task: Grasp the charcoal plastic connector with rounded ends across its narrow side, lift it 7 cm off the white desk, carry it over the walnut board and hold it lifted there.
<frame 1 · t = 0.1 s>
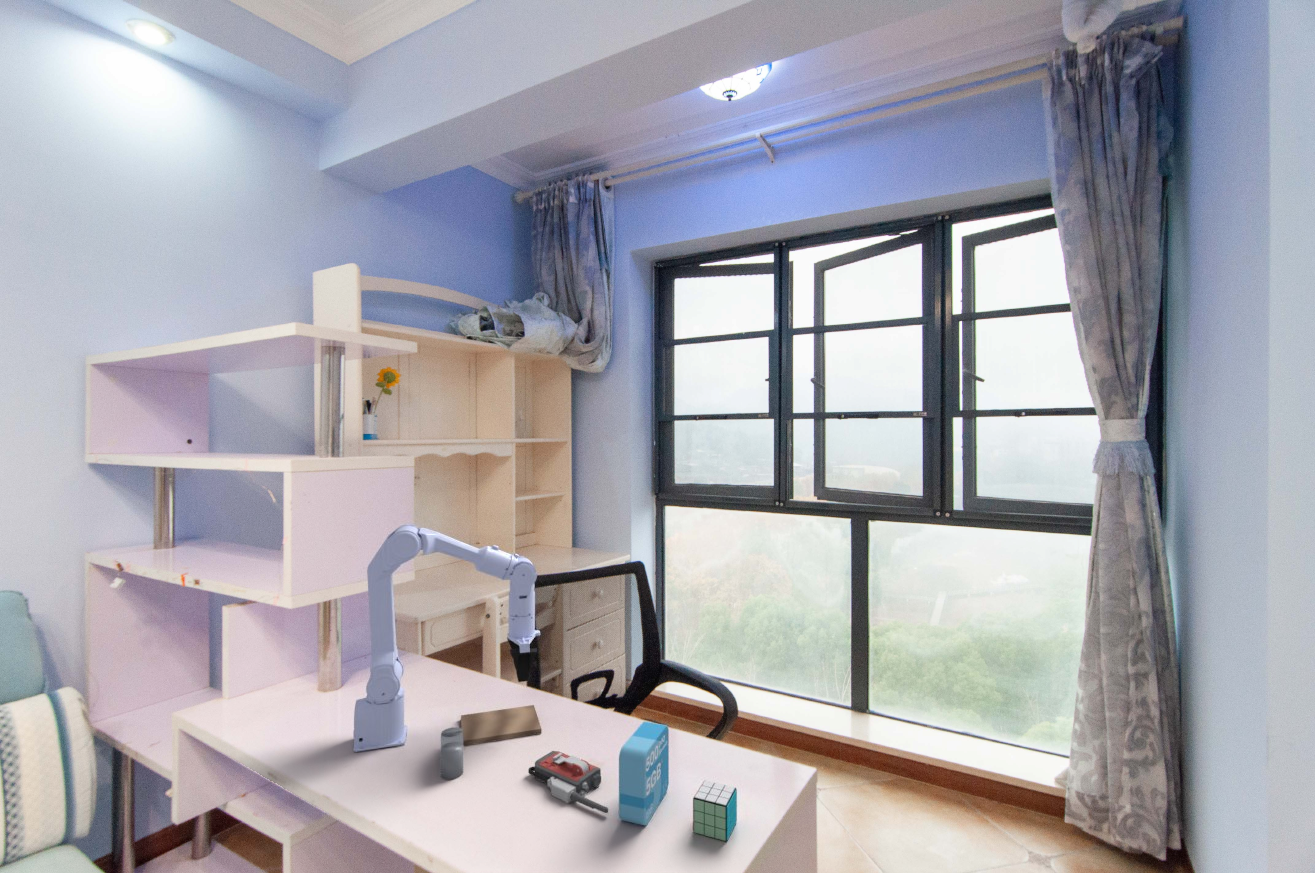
hand: (521, 674, 134), 10 cm above the table, tool pointing down, fingers open, 7 cm apart
walnut board: (500, 726, 131), on the table
walkie-talkie: (576, 790, 108), on the table
connector: (451, 765, 115), on the table
data package: (644, 806, 103), on the table
puzzle toy: (715, 828, 97), on the table
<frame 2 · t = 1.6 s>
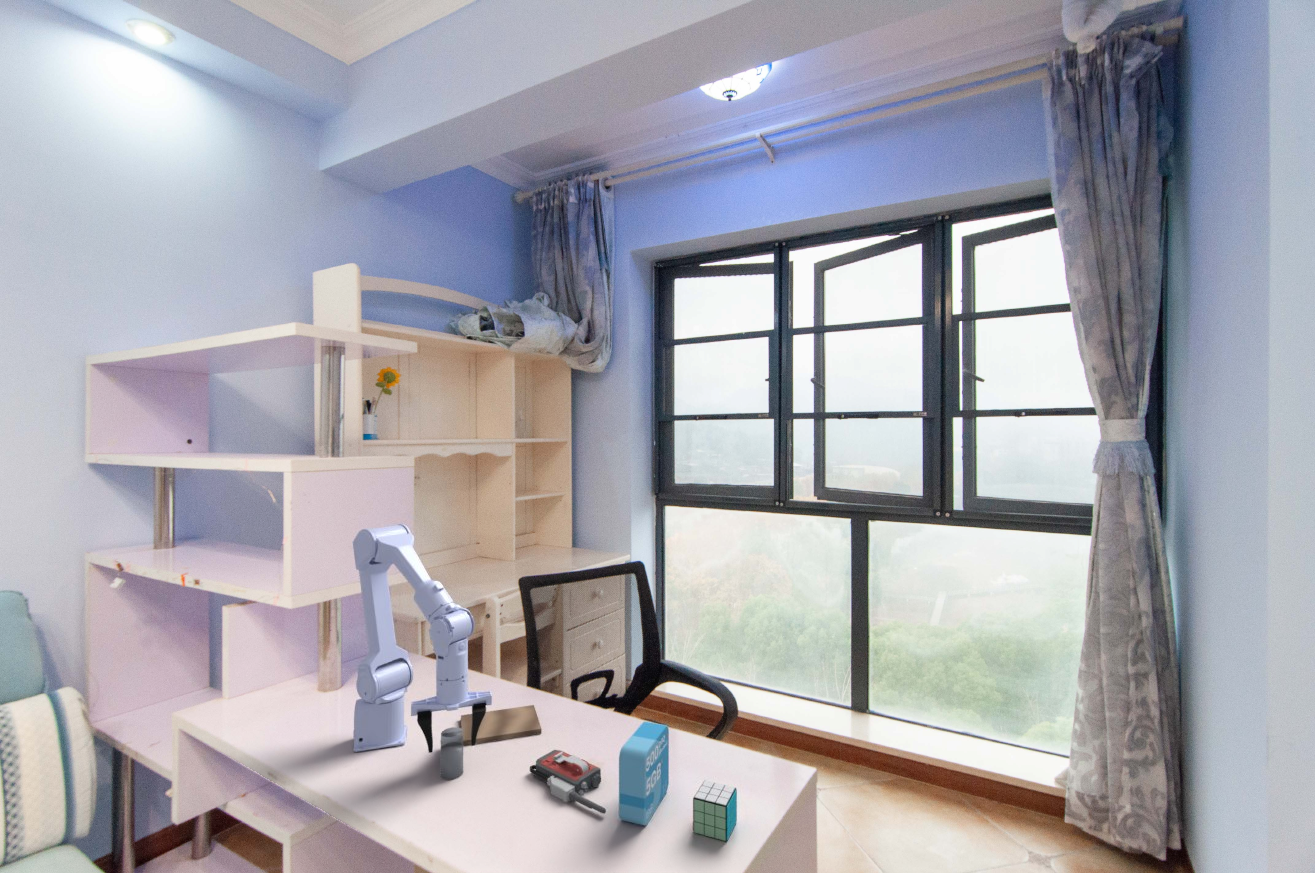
hand: (452, 746, 115), 4 cm above the table, tool pointing down, fingers open, 7 cm apart
nothing on the table moved.
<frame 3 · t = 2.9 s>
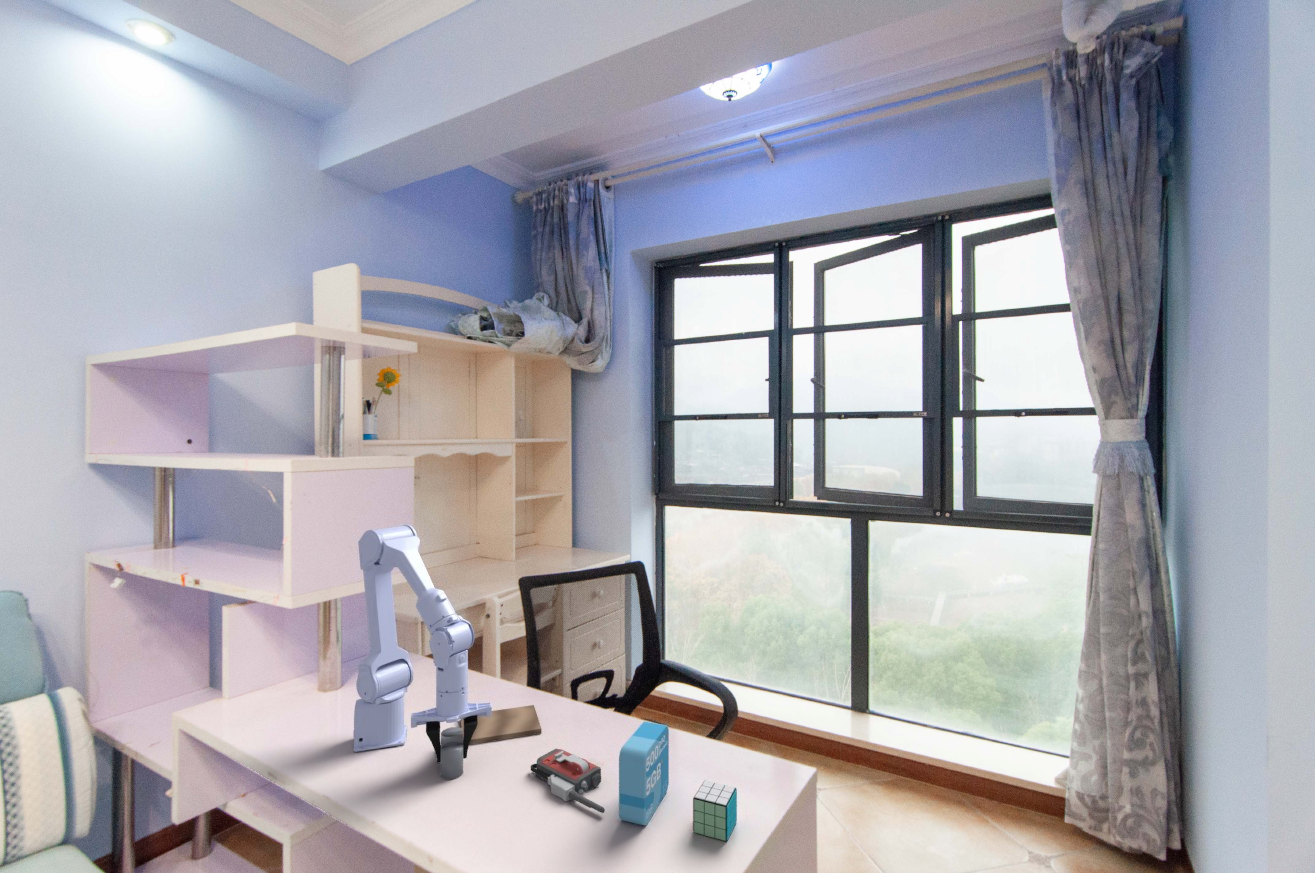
hand: (451, 757, 115), 1 cm above the table, tool pointing down, fingers closed on connector, 4 cm apart
connector: (451, 765, 115), on the table, touching gripper
everything else where it was.
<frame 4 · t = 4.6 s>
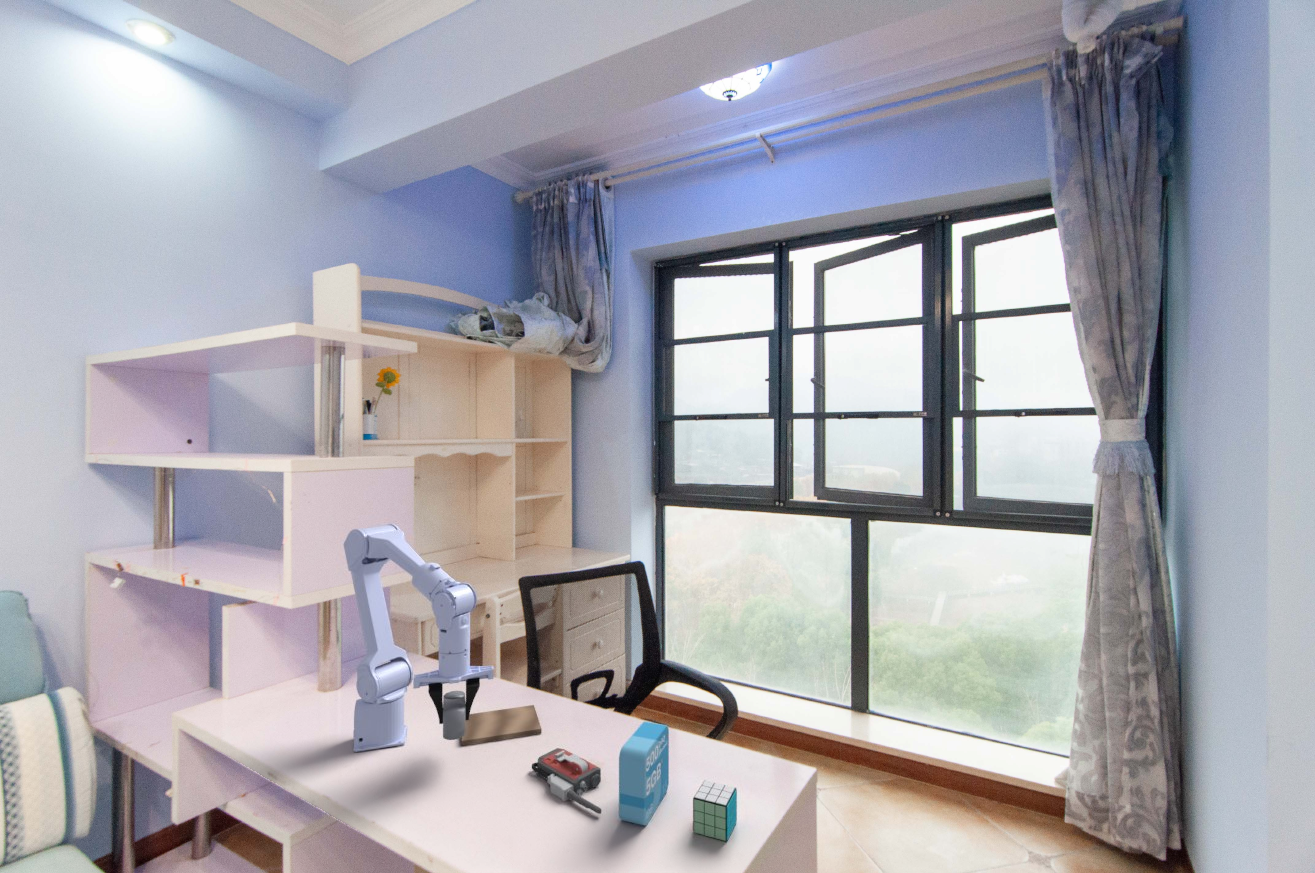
hand: (454, 719, 116), 8 cm above the table, tool pointing down, fingers closed on connector, 4 cm apart
connector: (454, 727, 116), point 7 cm above the table, touching gripper
everything else where it was.
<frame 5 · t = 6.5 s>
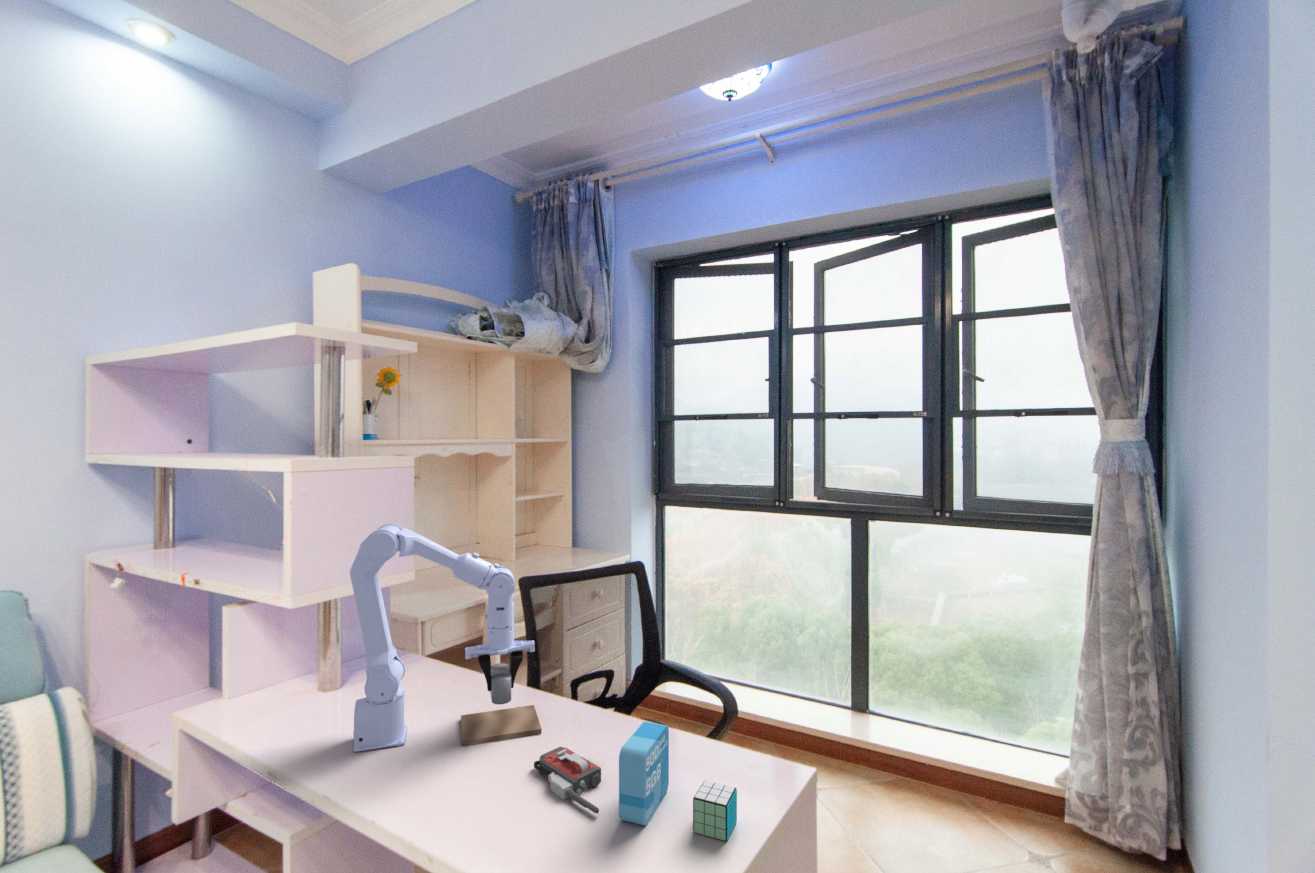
hand: (500, 687, 131), 8 cm above the table, tool pointing down, fingers closed on connector, 4 cm apart
connector: (500, 694, 131), point 7 cm above the table, touching gripper
everything else where it was.
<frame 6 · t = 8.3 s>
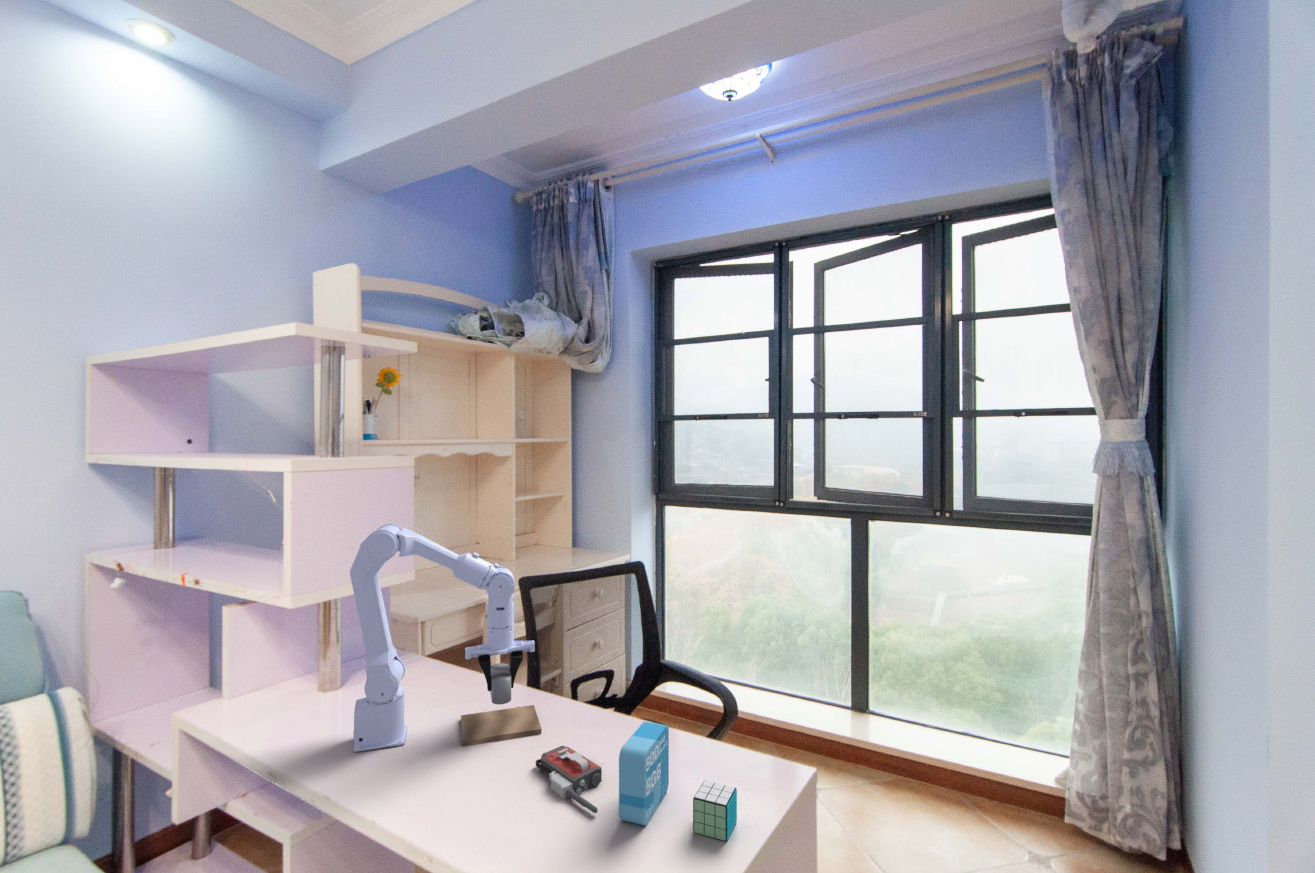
hand: (500, 687, 131), 8 cm above the table, tool pointing down, fingers closed on connector, 4 cm apart
connector: (500, 694, 131), point 7 cm above the table, touching gripper
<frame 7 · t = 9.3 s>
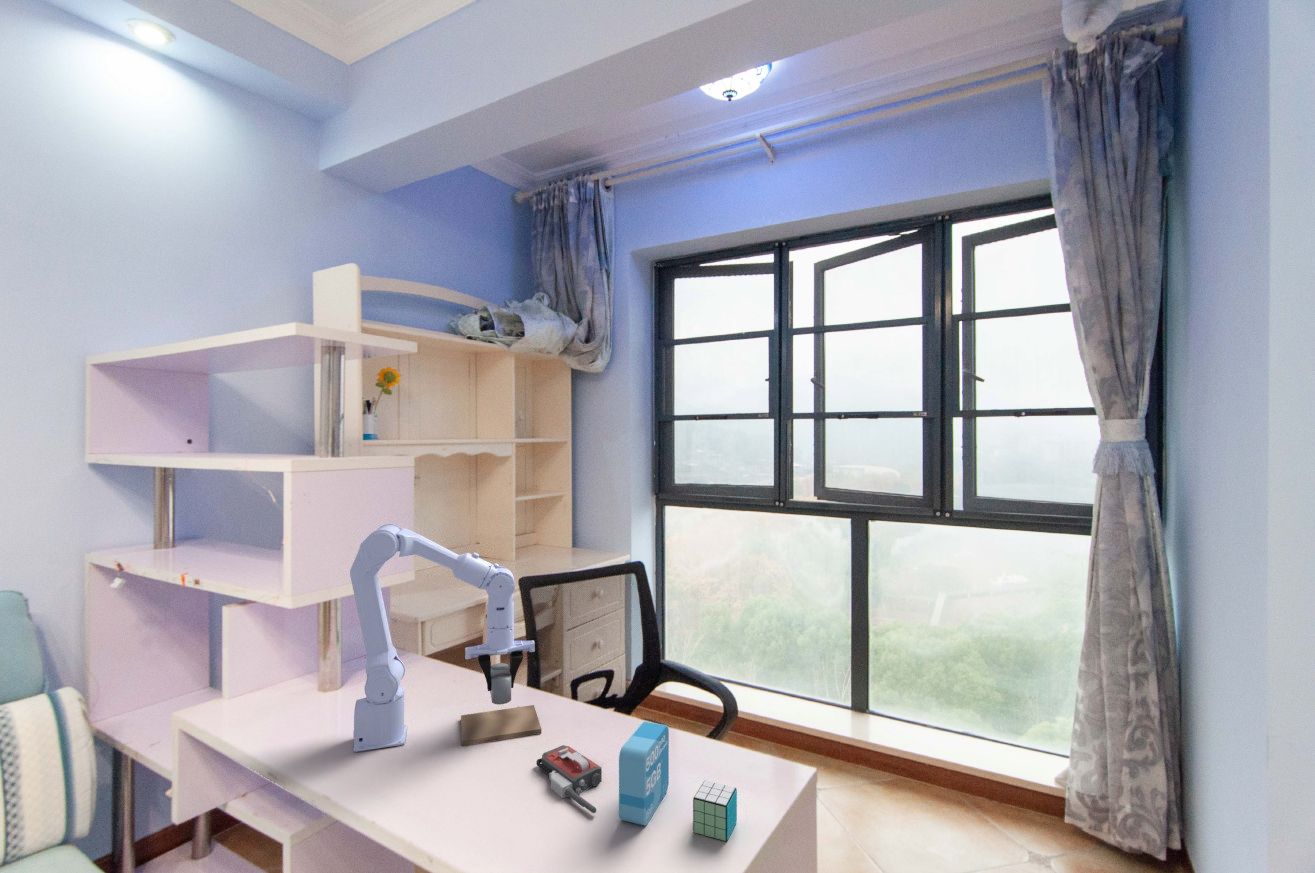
hand: (500, 687, 131), 8 cm above the table, tool pointing down, fingers closed on connector, 4 cm apart
connector: (500, 694, 131), point 7 cm above the table, touching gripper
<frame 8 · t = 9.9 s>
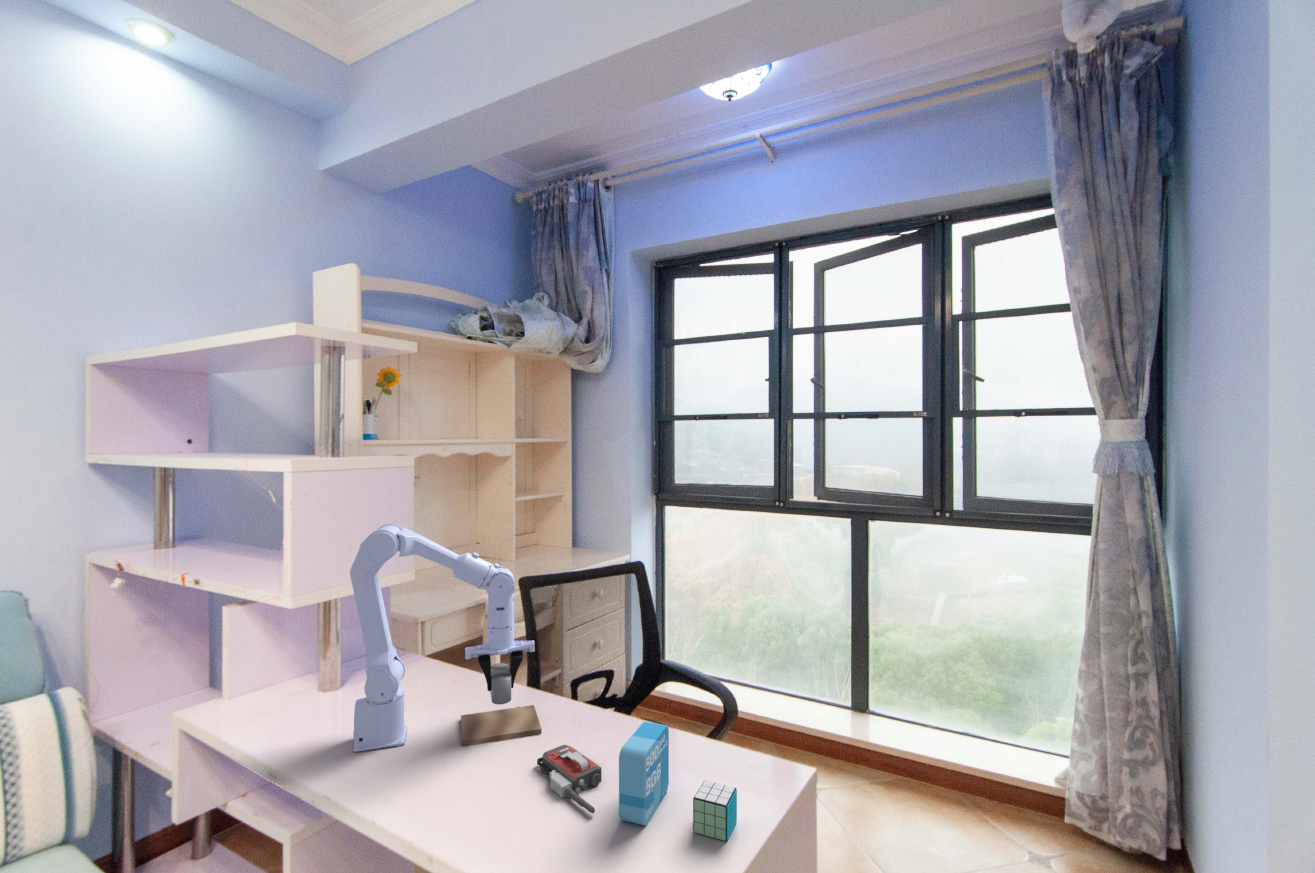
hand: (500, 687, 131), 8 cm above the table, tool pointing down, fingers closed on connector, 4 cm apart
connector: (500, 694, 131), point 7 cm above the table, touching gripper
at the end: the gripper is holding connector; connector point 6.9 cm above the table; connector 0.1 cm from the walnut board (horizontally) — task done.
